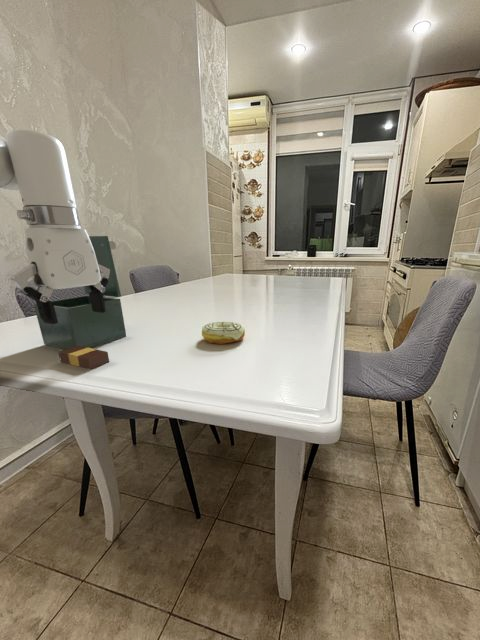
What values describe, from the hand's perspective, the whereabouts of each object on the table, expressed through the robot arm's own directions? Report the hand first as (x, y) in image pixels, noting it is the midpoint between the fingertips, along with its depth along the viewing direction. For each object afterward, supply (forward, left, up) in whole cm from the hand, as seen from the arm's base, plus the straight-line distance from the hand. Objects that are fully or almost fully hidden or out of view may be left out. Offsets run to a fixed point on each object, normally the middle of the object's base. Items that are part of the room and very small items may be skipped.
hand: (76, 317), depth 56 cm
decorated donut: (+17, +25, -10) cm, 32 cm away
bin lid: (-13, +15, +8) cm, 21 cm away
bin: (-13, +9, -9) cm, 18 cm away
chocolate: (0, 0, -9) cm, 9 cm away
